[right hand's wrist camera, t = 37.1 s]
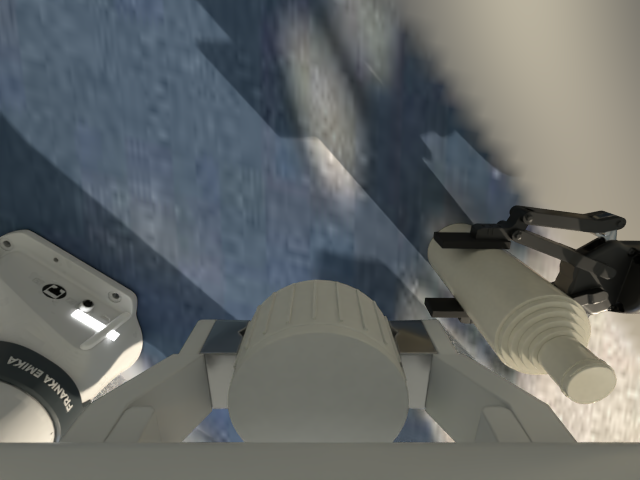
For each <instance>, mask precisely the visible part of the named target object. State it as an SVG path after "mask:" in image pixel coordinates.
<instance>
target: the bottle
mask: <svg viewBox="0 0 640 480" xmlns="http://www.w3.org/2000/svg"><path fill="white" fill-rule="evenodd" d="M470 230H471V225H468V224H453V225H449V226H447V227H445V228H443V229H441V230H440V231H439V232H470ZM433 238H434V237H433ZM428 260H429V263H430V265H431V266H432V268H433V269H434V270H435V272H436V273H437V274H438V276H439V277H440V279H441V280H442V281H443V283H444V284H445V285H446V287H447V288H448V289H449V291H450V292H451V293H452V295H453V296H454V298H455V299H456V300H457V302H458V303H459V304H460V306H461V307H462V308H463V310H464V311H465V312H466V314H467V315H468V316H469V318H470V319H471V321H472V322H473V323H474V325H475V326H476V327H477V329H478V330H479V331H480V333H481V334H482V335H483V337H484V338H485V340H486V341H487V342H488V344H489V345H490V346H491V348H492V349H493V350H494V352H495V353H496V354H497V356H498V357H499V358H500V360H501V361H502V362H503V363H504V364H505V365H507V366H508V367H510V368H512V369H515V370H517V371H519V372H522V373H525V374H532V375H540V374H548V375H549V376H550V377H551V378H552V379H553V380H554V381H555V383H556V384H557V385H558V386H559V387H560V389H561V391H562V392H563V394H564V395H565V396H566V397H568V398H570V399H571V400H572V401H574V402H576V403H580V404H591V403H595V402H598V401H600V400H602V399H604V398H605V397H607V396H608V395H609V394H610V393H611V392H612V391H613V389H614V387H615V385H616V375H615V373H614V370H613V369H612V368H611V367H610V366H609V365H607V364H606V362H605V361H603V360H601V359H599V358H598V357H596V356H595V355H594V354H593V353H592V352H591V351H590V350H588V349H587V345H588V342H589V338H590V333H591V326H590V321H589V319H588V316H587V314H586V312H585V310H584V308H583V307H582V306H581V305H580V304H579V303H578V302H576V301H575V300H574V299H572V298H571V297H570V296H568V295H567V294H565V293H564V292H563V291H561V290H560V289H559V288H557V287H556V286H554V285H553V284H552V283H550V282H549V281H548V280H546V279H545V278H544V277H542V276H541V275H539V274H538V273H537V272H535V271H534V270H533V269H531V268H530V267H528V266H527V265H526V264H524V263H523V262H522V261H520V260H519V259H518V258H516V257H515V256H513V255H512V254H511V253H509V252H508V251H507V250H505V249H442V248H441V247H440V246H439V244H438V243H437V242H436V241H435V240H434V239H432V240H431V242H430V244H429V247H428Z"/></svg>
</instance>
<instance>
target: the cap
mask: <svg viewBox="0 0 640 480" xmlns="http://www.w3.org/2000/svg"><path fill="white" fill-rule="evenodd" d="M399 362H401V359H400V356H399V353H398V350H397V347H396V344H395V341H394V338H393V335H392V332H391V329H390V326H389V323H388V320H387V317H386V316H384V315H383V313H382V312H381V310H380V309H379V308H378V306H377V305H376V302H375V301H372V300H371V299H370V298H369V297H367V296H366V295H365V294H364V293H362V292H360V291H359V290H358V289H355V288H353V287H351V286H348V285H345V284H342V283H339V282H334V281H328V280H309V281H303V282H298V283H293V284H292V285H289V286H287V287H285V288H282V289H280V290H279V291H277V292H274V293H272V295H271V296H270V297H269V298H267V299H266V300H265V301H264V302H263V303H262V304H261V305H259V306H258V307H257V310H256V312H255V314H254V316H253V318H252V320H251V321H249V323H248V325H247V328H246V331H245V334H244V337H243V340H242V343H241V346H240V349H239V352H238V355H237V357H236V360H235V363H234V366H233V368H236V369H235V372H234V373H233V376H232V379H231V382H230V387H229V392H228V410H229V415H230V418H231V421H232V424H233V426H234V428H235V429H236V431H237V433H238V434H239V436H240V437H241V438H242V440H243V441H244V442H305V443H392V442H393V441H394V439H395V438H396V437H397V436H398V434H399V433H400V431H401V429H402V427H403V426H404V423H405V420H406V418H407V413H408V409H409V394H408V388H407V385H406V382H407V378H406V375H405V372H404V369H403V367H401V366H400V363H399Z"/></svg>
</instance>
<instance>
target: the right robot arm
mask: <svg viewBox="0 0 640 480" xmlns="http://www.w3.org/2000/svg"><path fill="white" fill-rule="evenodd" d="M8 241H9V242H10V243H9V242H8ZM116 293H117V294H118V295H119V296H117V295H116ZM136 312H137V297H136V295H135V294H134V293H133V292H132V291H131V290H129V289H127V288H126V287H124V286H122V285H121V284H119V283H117V282H116V281H114V280H112V279H111V278H109V277H107V276H106V275H104V274H102V273H101V272H99V271H97V270H96V269H94V268H92V267H91V266H89V265H87V264H86V263H84V262H82V261H81V260H79V259H77V258H76V257H74V256H72V255H71V254H69V253H67V252H66V251H64V250H62V249H61V248H59V247H57V246H56V245H54V244H52V243H51V242H49V241H47V240H46V239H44V238H42V237H41V236H39V235H37V234H35V233H34V232H32V231H30V230H17V231H13V232H10V233H7V234H5V235H3V236H1V237H0V480H640V442H577V441H576V440H575V439H574V437H573V436H572V435H571V434H570V432H569V431H568V430H567V429H566V427H565V426H564V425H563V423H562V422H561V421H560V420H559V418H558V417H557V416H556V414H555V413H554V412H553V411H552V409H551V408H550V407H549V405H547V404H546V403H544V402H542V401H541V400H539V399H537V398H536V397H534V396H532V395H531V394H529V393H527V392H526V391H524V390H522V389H521V388H519V387H517V386H516V385H514V384H512V383H511V382H509V381H507V380H506V379H504V378H502V377H501V376H499V375H497V374H496V373H494V372H492V371H491V370H489V369H487V368H486V367H484V366H482V365H481V364H479V363H478V362H476V361H474V360H473V359H471V358H469V357H468V356H466V355H464V354H458V353H457V351H456V349H455V347H454V346H453V344H452V342H451V341H450V339H449V337H448V336H447V334H446V332H445V330H444V329H443V327H442V325H441V324H440V322H439V321H438V320H436V319H433V320H405V321H388V323H389V326H390V329H391V332H392V335H393V338H394V341H395V344H396V347H397V350H398V353H399V356H400V359H401V362H399V363H400V366H401V367H403V369H404V372H405V375H406V378H407V382H406V385H407V388H408V394H409V409H425V411H426V412H427V413H428V414H429V415H430V416H431V417H432V418H433V419H434V420H435V421H436V422H437V423H438V424H439V425H440V426H441V428H442V429H443V430H444V431H445V432H446V433H447V434H448V435H449V436H450V437H451V438H452V439H453V440H454V441H455V442H456V443H305V442H190V443H181V442H182V441H183V440H184V439H185V438H186V437H187V436H188V435H189V434H190V433H191V432H192V431H193V430H194V429H195V428H196V427H197V426H198V425H199V424H200V423H201V421H202V420H203V419H204V418H205V417H206V416H207V415H208V414H209V413H210V412H211V411H212V409H228V392H229V387H230V382H231V379H232V376H233V373H234V372H235V369H236V368H233V366H234V363H235V360H236V357H237V355H238V352H239V349H240V346H241V343H242V340H243V337H244V334H245V331H246V328H247V325H248V323H249V321H250V320H199V321H198V322H197V324H196V325H195V327H194V329H193V330H192V332H191V334H190V335H189V337H188V339H187V341H186V342H185V344H184V346H183V347H182V349H181V351H180V352H179V354H173V355H171V356H169V357H168V358H166V359H164V360H163V361H161V362H159V363H157V364H156V365H154V366H152V367H151V368H149V369H147V370H146V371H144V372H142V373H141V374H139V375H137V376H136V377H134V378H132V379H131V380H129V381H127V382H126V383H124V384H122V385H120V386H119V387H117V388H115V389H114V390H112V391H110V392H109V393H107V394H105V395H104V396H102V397H100V398H99V399H97V400H95V401H94V402H92V403H91V400H92V399H93V398H94V397H95V396H96V395H97V394H98V393H99V392H100V391H101V390H102V389H103V388H104V387H105V386H106V385H107V384H109V383H110V382H111V381H112V380H113V379H114V378H115V377H117V376H118V375H119V374H120V373H122V372H123V371H125V370H126V369H128V368H129V367H131V366H132V365H133V364H134V363H135V361H136V360H137V359H138V357H139V355H140V353H141V349H142V343H143V339H142V332H141V328H140V326H139V323H138V320H137V316H136Z"/></svg>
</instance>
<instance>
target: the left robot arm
mask: <svg viewBox="0 0 640 480" xmlns="http://www.w3.org/2000/svg"><path fill="white" fill-rule="evenodd" d="M528 224H529V225H537V226H544V227H552V228H560V229H568V230H575V231H583V232H590V233H591V234H594V235H596V236H598V238H596V239H594V240H593V241H591V242H589V243H587V244H585V245H584V246H582V247H580V248H578V249H573V248H571V247H568V246H566V245H563V244H561V243H557V242H555V241H552V240H550V239H547V238H545V237H542V236H540V235H537V234H535V233H532V232H530V231H527V230H525V229H526V228H527V226H528ZM625 225H626V220H625V219H624V218H622V217H619V216H616V215H614V214H611V213H608V212H605V211H597V212H592V213H587V214H578V213H570V212H563V211H555V210H548V209H540V208H533V207H525V206H513V207H512V208H511V209H510V217H509V218H508V220H507V221H504V220H502V221H499V222H498V223H497V224H474V225H471V230H470V232H434V238H433V239H434V240H435V241H436V242H437V243H438V244H439V246H440V247H441V248H442V249H510V244H511V242H510V241H509V240H513V241H515V242H517V243H520V244H522V245H525V246H527V247H530V248H532V249H535V250H537V251H540V252H543V253H545V254H548V255H550V256H553V257H555V258H558V259H560V260H561V263H560V272H559V274H558V276H557V278H556V280H555V282H552V284H553V285H554V286H556V287H557V288H559V289H560V290H561V291H563V292H564V293H565V294H567V295H568V296H570V297H571V298H572V299H574V300H575V301H576V302H578V303H579V304H580V305H581V306H582V307H583V308H584V310H585V312H586V314H587V316H588V317H589V316H590V315H596V314H598V313H601V312H604V311H612V312H618V313H627V314H640V241H618V240H616V236H617V230H619V229H622V228H623V227H624V226H625ZM424 304H425V306H426V308H427V309H428V311H429V313H430V315H431V317H451V318H458V319H459V321H460V322H462V323H473V322H472V321H471V319H470V318H469V316H468V315H467V314H466V312H465V311H464V310H463V308H462V307H461V306H460V304H459V303H458V302H457V300H456V299H455V298H425V303H424Z"/></svg>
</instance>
